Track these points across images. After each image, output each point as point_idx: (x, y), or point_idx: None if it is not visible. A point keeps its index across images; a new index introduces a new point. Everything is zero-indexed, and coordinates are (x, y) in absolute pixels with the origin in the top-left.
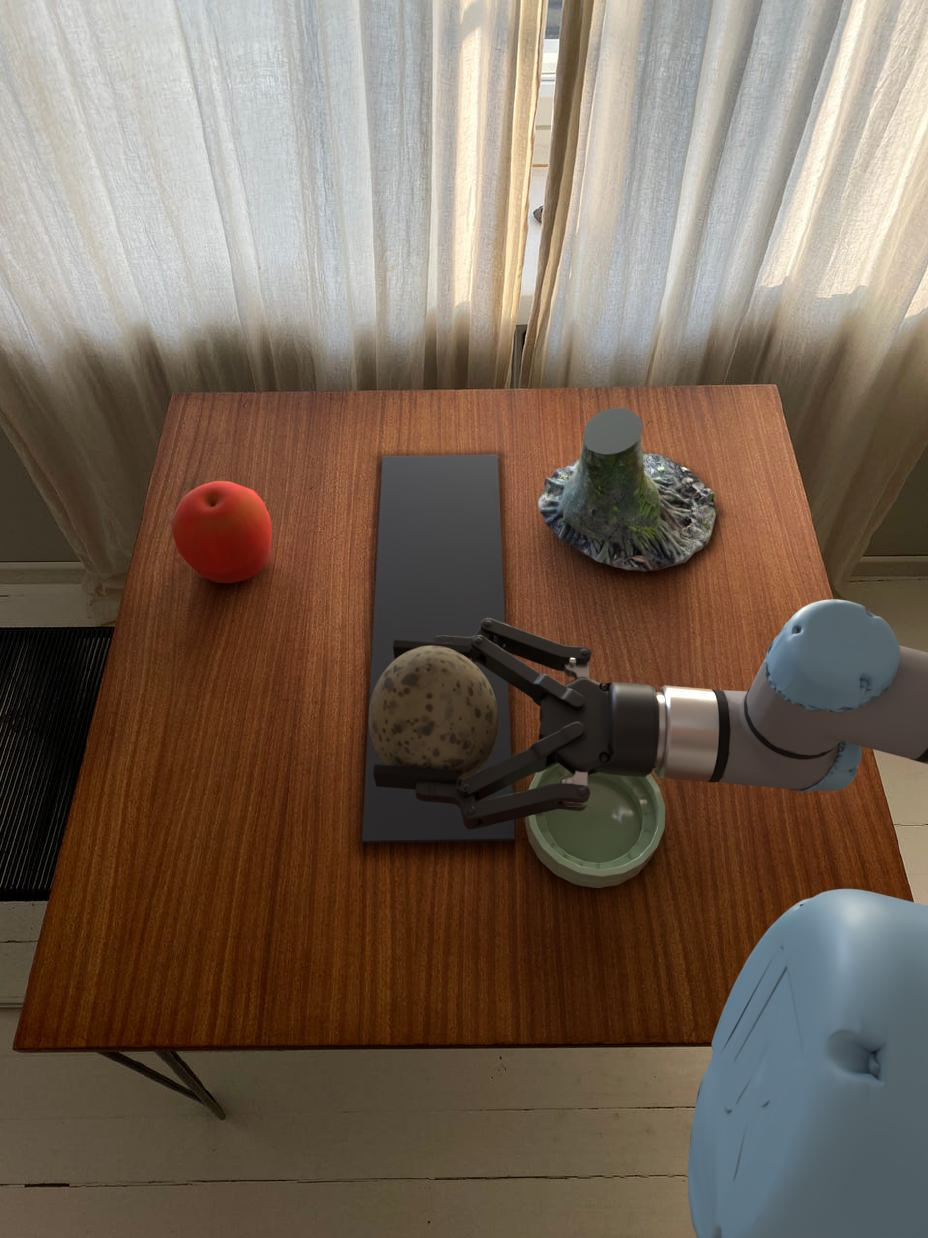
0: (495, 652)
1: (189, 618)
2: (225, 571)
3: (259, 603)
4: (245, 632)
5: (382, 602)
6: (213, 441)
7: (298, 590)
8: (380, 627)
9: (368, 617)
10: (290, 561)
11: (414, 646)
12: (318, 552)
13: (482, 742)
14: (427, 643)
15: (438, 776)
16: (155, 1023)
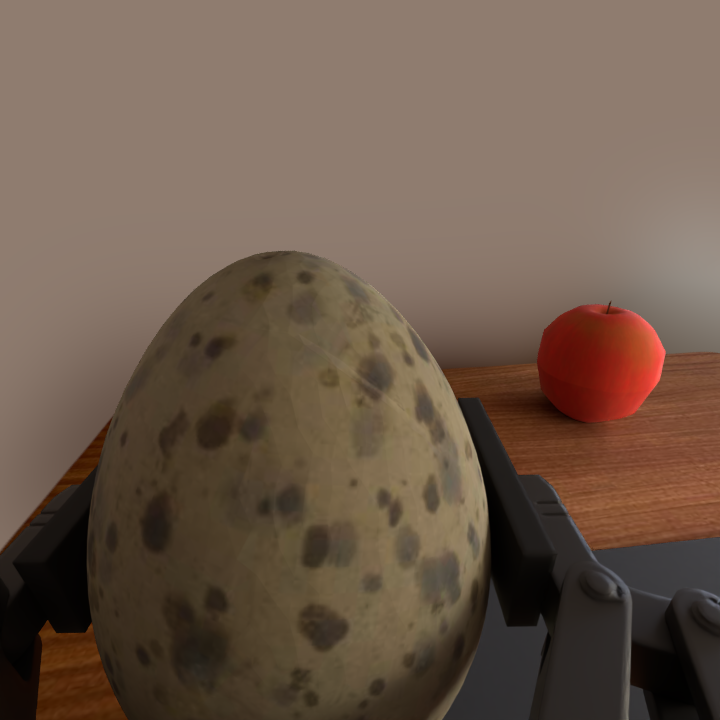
0: (584, 671)
1: (496, 394)
2: (548, 372)
3: (546, 433)
4: (503, 430)
5: (652, 556)
6: (707, 372)
7: (590, 461)
8: (603, 561)
9: (611, 545)
10: (624, 447)
11: (477, 428)
12: (664, 470)
13: (114, 646)
14: (498, 447)
15: (61, 512)
16: (99, 445)
